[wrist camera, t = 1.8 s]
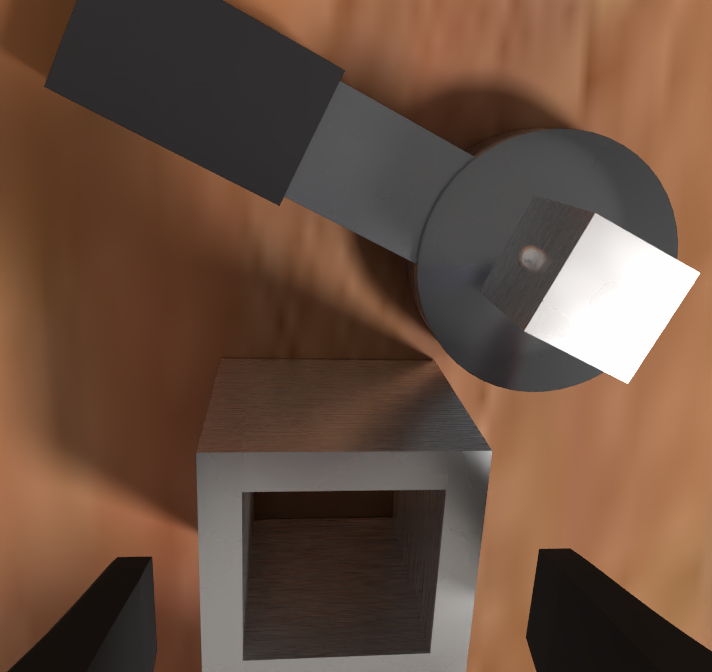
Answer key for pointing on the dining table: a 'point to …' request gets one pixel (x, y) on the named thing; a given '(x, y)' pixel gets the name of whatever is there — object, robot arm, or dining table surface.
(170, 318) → the dining table surface
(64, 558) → the dining table surface
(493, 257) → the ratchet
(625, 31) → the dining table surface
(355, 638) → the socket
